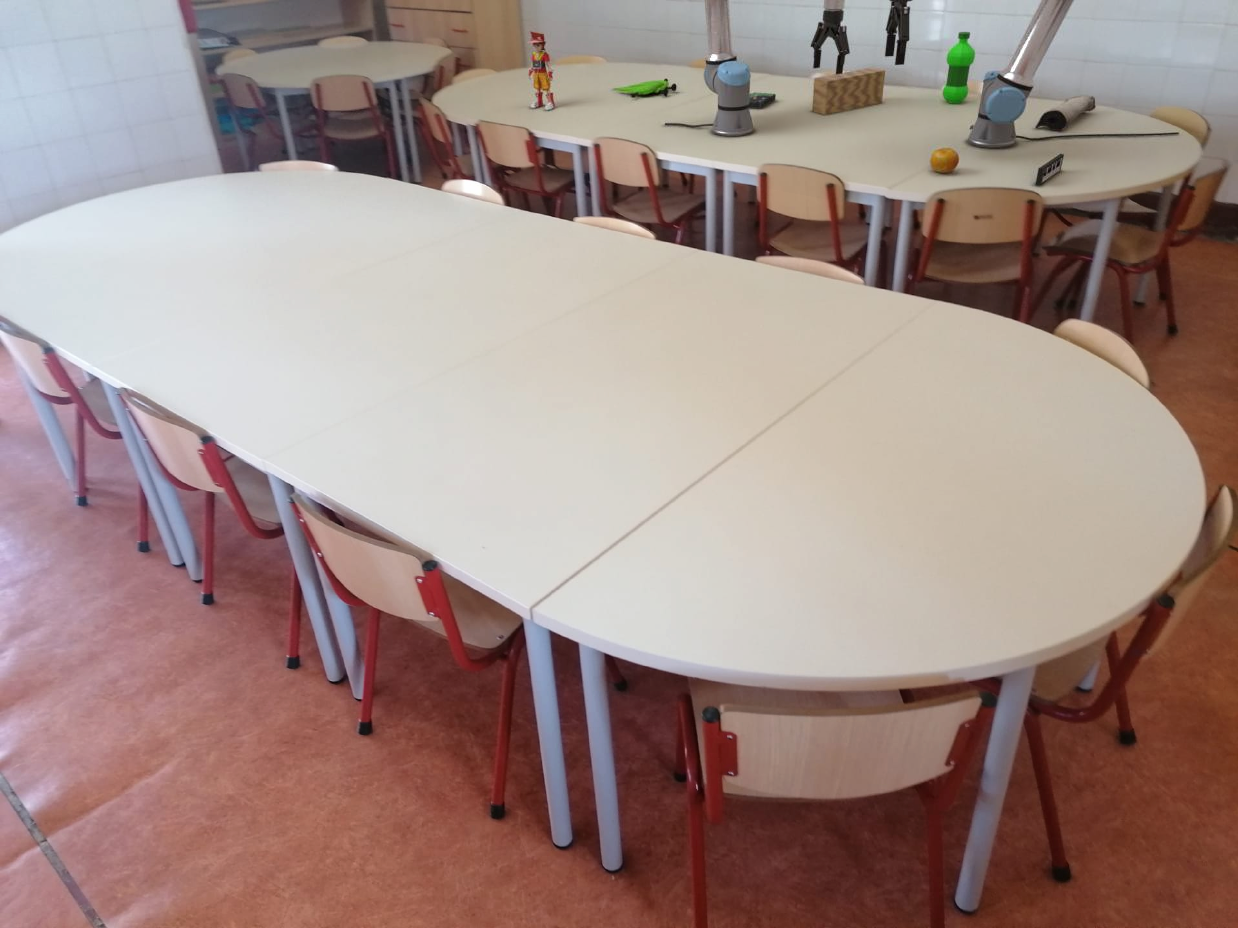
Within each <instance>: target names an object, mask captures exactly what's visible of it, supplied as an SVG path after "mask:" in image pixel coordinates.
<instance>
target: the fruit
mask: <svg viewBox="0 0 1238 928" xmlns="http://www.w3.org/2000/svg"><path fill="white" fill-rule="evenodd" d="M959 163H960V156H959V154H958V152H957V151H956V150H955V149H953V148H951V147H942V148H938V149H936V150H934V151H933V153H932V154H931V155H930V159H929V166H930V168H931V169H932V170H933V171H934V172H936V173H939V174H940V173H943V174H944V173H945V174H946V173H951V172H953V171H954V170H956V168H957V167H958V165H959Z"/></svg>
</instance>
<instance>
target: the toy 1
mask: <svg viewBox="0 0 1238 928" xmlns="http://www.w3.org/2000/svg"><path fill="white" fill-rule="evenodd" d="M529 33H530V35H531V36H528V37H527V38H528V39H529V40H528V41H527V43H529V44H530V43H531V44H532V48H533V50H534V51H533V52H532V55H531V58H530V59H531V63H530V66H528V74H527V75H528V76H527V77H528V79H529V80H531V75H532V74H533V84H532V85H533V86H532V87H533V88H534V89H535V90H536V92H534V95H535V97H536V100H535V101H533V102H531V105H530V108H531V109H535V108H538V107H542V106H544V101H543V100H544V99H543V95H544V92H546V94H545V97H546V99H547V103H546V104H545V106H544V110H546V111H549V110H553V109H554V107H555V106H556V105H555V99H554V92H551V91H550V90H551V86H552V84H551V82H552V81H553V80H554V77H553V73H554V71H555V70H554V69H552V68H551V63H550V61H551V59H550V58H551V57H550V54H549V53H548V52H547V50H546V48H545V46H546V44H547V41H545V35H544V33H543V32H542V33H539V32H535V31H529Z"/></svg>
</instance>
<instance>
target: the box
mask: <svg viewBox="0 0 1238 928" xmlns="http://www.w3.org/2000/svg"><path fill="white" fill-rule="evenodd" d="M849 71H850V72H846V71H845V72H843V73H842V74H836V73H835V74H830V75H825V76H819V77H814V78H813V91H812V107H811V111H812V112H814V113H817V114H821V115H824V116H825V115H831V114H835V113H839V112H844V111H848V110H849V111H850V110H854V109H858V108H864V107H868V106H874V105H877V104H878V105H879V104H882V103H883V95H884V87H885V86H884V85H885V78H886V70H885V69H882V68H877V67H873V66H872V67H868V68H861V69H856V70H849Z"/></svg>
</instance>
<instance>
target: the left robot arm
mask: <svg viewBox="0 0 1238 928" xmlns="http://www.w3.org/2000/svg"><path fill="white" fill-rule="evenodd" d="M845 4H846V0H823V9H824V10H823V12H822V21H818V23H817V28H816V31H815V32H814V35H813V38H812V41H811V43H810V47H811V48H813V65H812V68H813V69H819V68H821V60H822V52H823V51H822V46H823V45H824V43H825V42H826V40H827V39H828V38H831V39H832V40H833V41H834V44H835V47H836V50H837V53H838V55H837V57H836V64H835V66H836V67H835V74H842V73H844V65H845V62H846V61H845V60H846V56H847V55H850V54H851V51H850V45H849V40H848V39H849V38H848V33H847V31H848V30H847V28H848V27H847V25H842V24H841V23H842V22H843V21H844V15H845V11H844V9H845ZM704 8H705V20H706V21H705V22H706V32H707V45H708V54H707V55H706V56H705V66H704V69H703V80H704V83H705V84H706V86H707V88H708V89H709V90H710V91H712V93H715V94H716V95H717V111H716V114H715V118H714V120H713V123H703V124H687V123H681V122H677V123H676V122H665V123H664V126H683V127H687V128H701V127H712V133H713V134H715V135H717V136H721V137H741V136H746V135H750V134H752V133H754V122H753V118H752V115H751V111H750V108H749V97H750V94H751V93H750V92H751V77H752V76H751V68H750V65H748V63H745V62H742V61H739V60H738V56H737V53H736V52H735V51H734V50H733V43H732V31H731V29H732V28H731V15H730V14H731V13H730V0H704Z"/></svg>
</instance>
